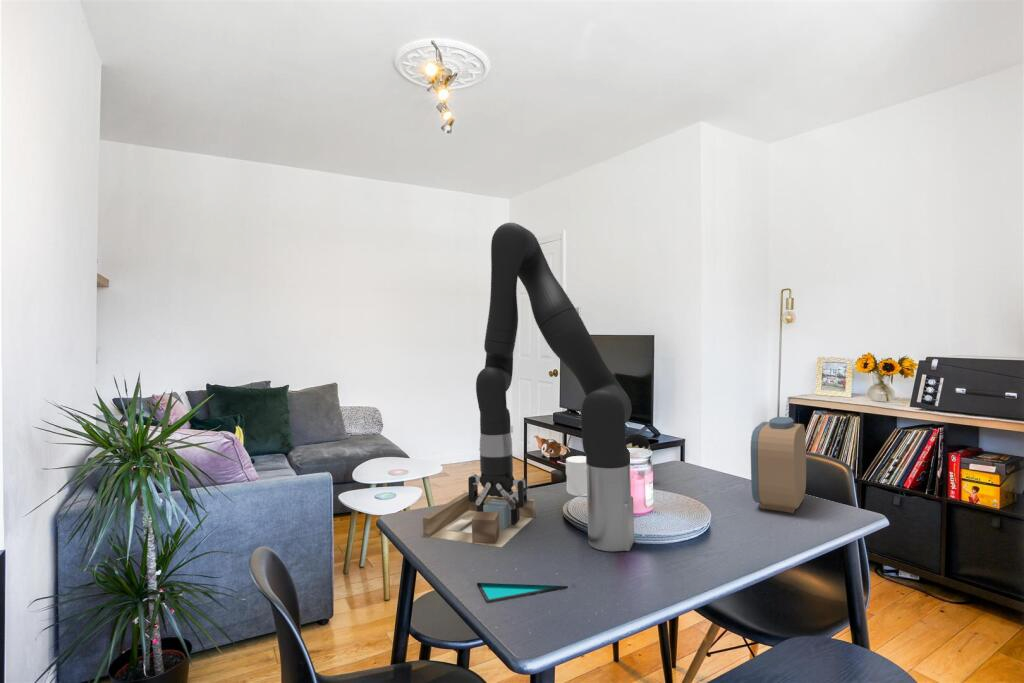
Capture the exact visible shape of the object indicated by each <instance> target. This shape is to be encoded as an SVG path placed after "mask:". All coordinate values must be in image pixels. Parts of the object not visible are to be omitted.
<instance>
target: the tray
mask: <svg viewBox="0 0 1024 683" xmlns="http://www.w3.org/2000/svg"><path fill="white" fill-rule="evenodd" d="M479 495H480V493H479V492H478V497H479ZM516 497H517V499H518V496H516ZM492 499H496V500H505V499H504V497H497V496H490V495H489V496H488V497H487V498H486V500H485V501H484V503H485V504H486V503H488V502H489V501H491V500H492ZM519 511H520V520H519V522H517V524H516V525H511V524H510V525H509V526H508V527H507V528H505V529H504V530H501V529H499V537H498V539H497V542H496V544H489V543H474V545H475V544H476V545H482V546H491V547H497V548H503V547H504V546H505V545H506V544H507V543H508V542H509V541H510V540H511V539H512V538H513V537H515V535H517V534H518V533H519V532H520V531H521V530H523V528H524V527H525V526H526V525H527V524H529V522H530V521H532V520H533V519H534V518H535V517H536V499H535V498H528V497H527V504H526V505H525V506H523V507H522V508H521V507H520V508H519ZM476 512H477V505H476V504H475V503H474V502H470V501H469V491H468V492H467V491H464V492H463V493H461V494H460V495H458V496H456V497H455V498H453V499H452V500H450V501H448V502H447V503H445V504H444V505H442V506H440V507H438V508H436V509H435V510H434V511H432V512H431V513H428V514H427V515H425V516H424V517H422V531H423V532H422V533H423V536H422V537H427V538H435V539H441V540H448V541H453V542H454V541H456V542H462V543H469V544H473V543H472V518H473V517H474V515H475V513H476Z"/></svg>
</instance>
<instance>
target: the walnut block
mask: <svg viewBox="0 0 1024 683" xmlns="http://www.w3.org/2000/svg"><path fill="white" fill-rule="evenodd" d="M498 537H499V512H476V513H475V515H474V517H473V518H472V543H471V544H475V543H489V544H496V542H497V539H498Z"/></svg>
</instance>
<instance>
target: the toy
mask: <svg viewBox="0 0 1024 683" xmlns="http://www.w3.org/2000/svg"><path fill="white" fill-rule="evenodd" d="M650 445H651V444H650V442H649V440H648V438H646V437H645V436H644V435H642V434H639V433H633V434H630V435H629V436H627V437H626V446H627V448H644V449H648V450H650V449H651V446H650ZM650 451H651V450H650ZM649 460H650V463H651V465H652V464H653V461H652V460H651V459H649Z"/></svg>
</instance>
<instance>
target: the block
mask: <svg viewBox="0 0 1024 683" xmlns="http://www.w3.org/2000/svg"><path fill="white" fill-rule="evenodd" d="M511 509H512V508H511V506H510V505H509V503H508V502H507V501H506V500H496V499H492V500H491V501H489V502H488V503H486V504H485V505H483V512H499V529H501V530H504V529H505V528H507V527H508V526H509V525H510V524H511Z"/></svg>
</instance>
